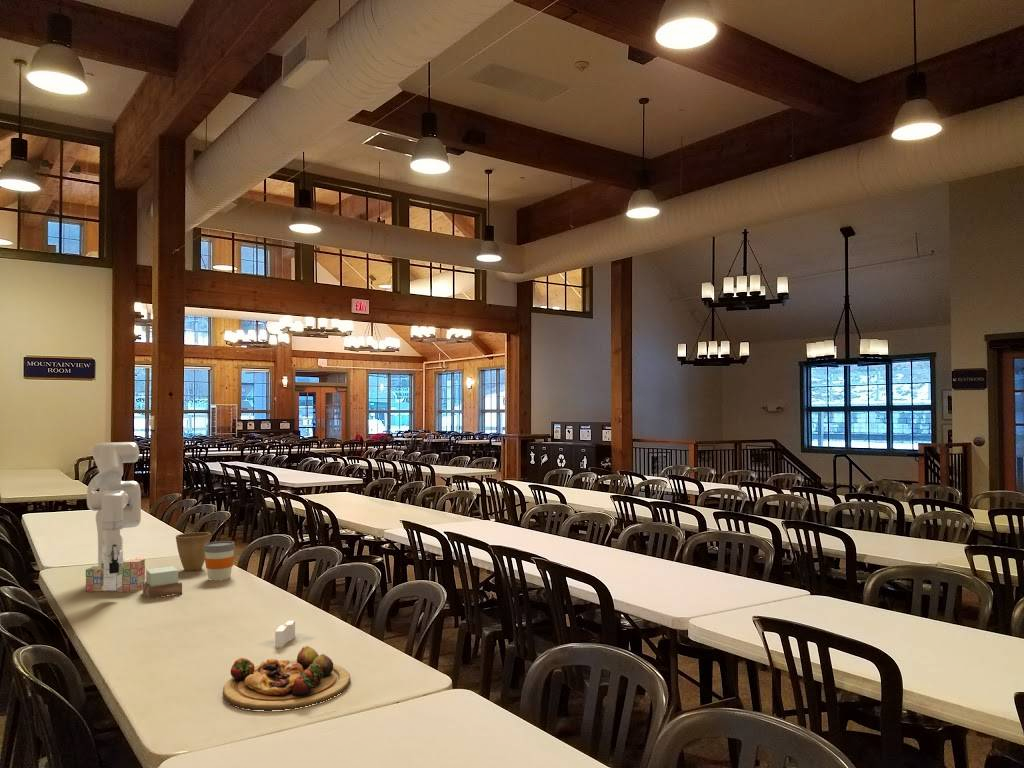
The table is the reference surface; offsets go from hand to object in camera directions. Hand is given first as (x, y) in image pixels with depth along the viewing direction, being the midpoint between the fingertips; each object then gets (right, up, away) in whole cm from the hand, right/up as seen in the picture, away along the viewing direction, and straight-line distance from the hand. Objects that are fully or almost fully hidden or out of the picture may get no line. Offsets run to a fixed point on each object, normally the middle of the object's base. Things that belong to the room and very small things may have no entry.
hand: (112, 570), depth 288 cm
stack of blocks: (-8, -13, +18) cm, 23 cm away
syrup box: (0, -7, 0) cm, 7 cm away
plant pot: (+8, -13, +55) cm, 57 cm away
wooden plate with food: (+96, -8, -93) cm, 134 cm away
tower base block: (+15, -12, +10) cm, 22 cm away
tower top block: (+15, -7, +10) cm, 19 cm away
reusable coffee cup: (+27, -13, +36) cm, 47 cm away
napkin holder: (+84, -9, -53) cm, 100 cm away
